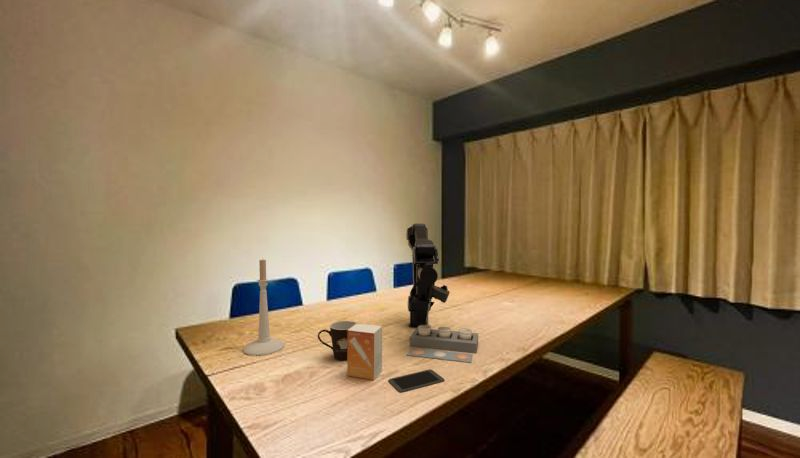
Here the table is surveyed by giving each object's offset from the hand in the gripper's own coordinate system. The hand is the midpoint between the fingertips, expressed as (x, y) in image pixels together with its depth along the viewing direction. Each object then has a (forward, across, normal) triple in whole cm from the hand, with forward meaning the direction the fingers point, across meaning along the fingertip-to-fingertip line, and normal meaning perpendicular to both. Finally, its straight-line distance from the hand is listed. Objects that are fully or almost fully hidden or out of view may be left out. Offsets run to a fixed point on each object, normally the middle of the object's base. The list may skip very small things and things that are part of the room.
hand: (424, 323), depth 121 cm
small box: (+7, -28, +11) cm, 31 cm away
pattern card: (+6, -10, -7) cm, 14 cm away
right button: (+4, 0, -14) cm, 15 cm away
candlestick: (+7, -20, +50) cm, 54 cm away
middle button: (+4, 0, -7) cm, 8 cm away
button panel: (+6, 0, -7) cm, 9 cm away
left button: (+4, 0, 0) cm, 4 cm away
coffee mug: (+7, -19, +23) cm, 31 cm away
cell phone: (+7, -28, -4) cm, 29 cm away
